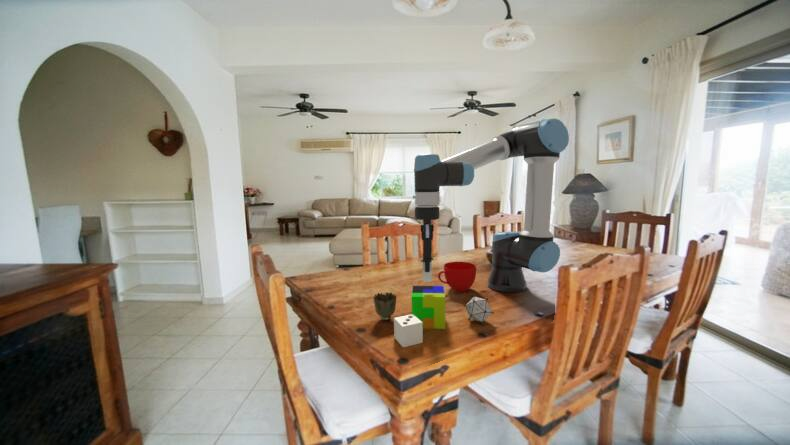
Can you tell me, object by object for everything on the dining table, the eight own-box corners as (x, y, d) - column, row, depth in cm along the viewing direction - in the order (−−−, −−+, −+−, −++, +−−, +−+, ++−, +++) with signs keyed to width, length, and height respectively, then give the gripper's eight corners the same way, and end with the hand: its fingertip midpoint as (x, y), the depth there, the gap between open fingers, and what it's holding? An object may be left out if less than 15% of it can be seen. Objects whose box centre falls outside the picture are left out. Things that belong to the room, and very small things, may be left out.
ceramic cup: (429, 288, 128) (429, 265, 127) (462, 282, 135) (463, 260, 134) (447, 298, 116) (447, 273, 115) (482, 291, 123) (483, 267, 122)
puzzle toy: (443, 314, 103) (443, 286, 101) (445, 328, 93) (445, 297, 92) (413, 314, 104) (413, 285, 102) (412, 328, 94) (411, 296, 93)
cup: (396, 314, 104) (396, 291, 103) (397, 324, 96) (396, 299, 95) (374, 315, 104) (373, 292, 103) (373, 325, 96) (373, 300, 95)
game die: (477, 335, 96) (467, 317, 91) (465, 315, 103) (454, 297, 98) (502, 320, 96) (493, 301, 90) (488, 301, 103) (479, 283, 98)
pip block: (413, 333, 91) (412, 313, 90) (422, 342, 85) (422, 321, 84) (394, 337, 88) (393, 317, 88) (403, 347, 83) (402, 326, 82)
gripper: (415, 204, 100) (415, 274, 103) (414, 207, 87) (414, 287, 90) (438, 204, 100) (438, 275, 103) (440, 207, 87) (440, 288, 90)
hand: (427, 280), depth 96 cm, fingers closed
